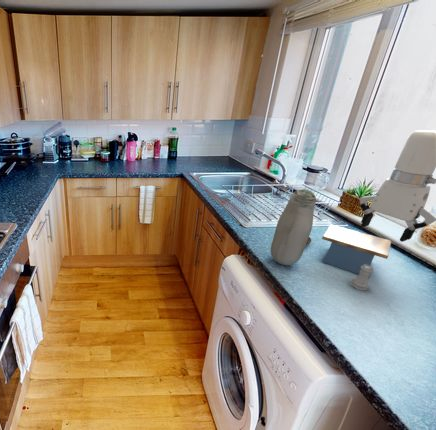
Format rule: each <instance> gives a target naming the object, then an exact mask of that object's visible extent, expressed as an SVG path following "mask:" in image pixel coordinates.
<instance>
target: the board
mask: <svg viewBox="0 0 436 430" xmlns="http://www.w3.org/2000/svg"><path fill="white" fill-rule="evenodd" d="M321 240H323V241H327V242H330V243H332V242H333V243H337V244H340V245H343V246H346V247H350V248H353V249H356V250H359V251H363V252H366V253H369V254H372V255H375V257H379V258H382V259H384V260H385V259H386V260H388V258H389V256H390V249H391V245H392V240H390V239H386V238H382V237H380V236H375V235H372V234H368V233H364V232H360V231H358V230H354V229H350V228H346V227H342V226H339V225H336V224H332V223H331V224H330V225H329V226H328V228H327V229H326V231H325V232H324V234H323V236H322V237H321Z"/></svg>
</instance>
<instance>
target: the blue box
mask: <svg viewBox="0 0 436 430" xmlns="http://www.w3.org/2000/svg"><path fill="white" fill-rule="evenodd" d="M375 257H376V255H372V254H369V253H366V252H363V251H359V250H356V249H353V248H350V247H346V246H343V245H340V244H337V243H333V242H330V245H329V247H328V251H327V253H326V255H325V258H324V261H323V262H324V263H325V264H329V265H331V266H334V267H337V268H340V269H342V270H343V269H344V270H346V271H348V272H352V273H354V274H357V275H359V274H360V270H361V266H363V264H366V266H368V265H370V266H371V264H372V262H373V261H374V258H375Z"/></svg>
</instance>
